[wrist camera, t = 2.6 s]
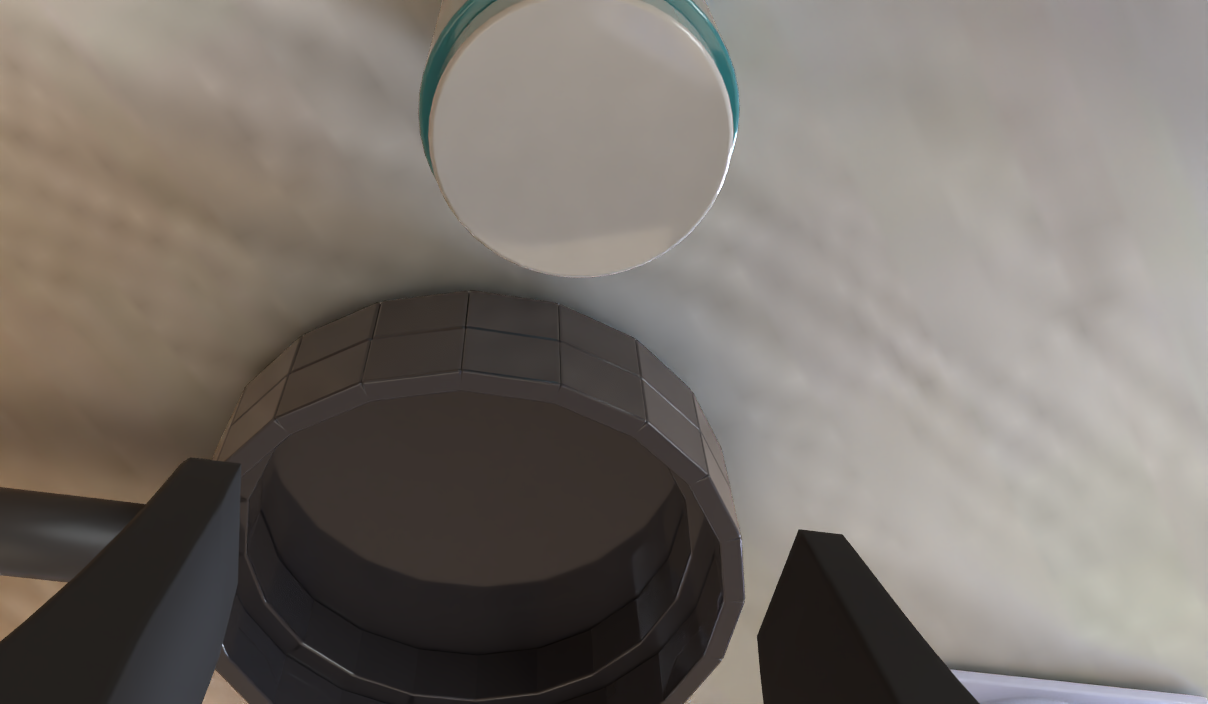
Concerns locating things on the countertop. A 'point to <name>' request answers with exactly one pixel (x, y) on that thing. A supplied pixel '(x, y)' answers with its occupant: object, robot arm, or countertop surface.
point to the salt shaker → (578, 127)
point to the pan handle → (56, 532)
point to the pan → (477, 514)
